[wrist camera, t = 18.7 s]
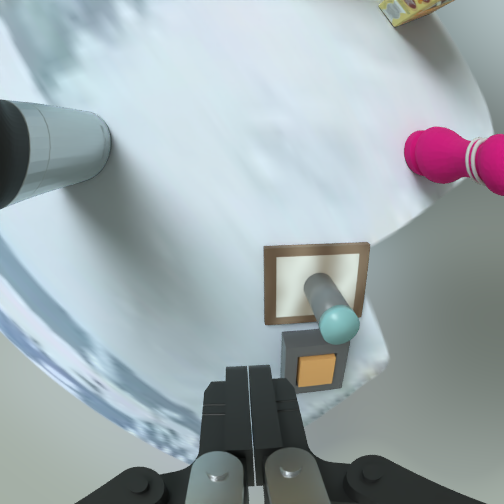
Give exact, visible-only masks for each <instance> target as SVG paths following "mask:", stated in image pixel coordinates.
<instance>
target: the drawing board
mask: <svg viewBox="0 0 504 504" xmlns="http://www.w3.org/2000/svg"><path fill="white" fill-rule="evenodd" d="M369 252H370V244H369V243H368V242H359V243H332V244H305V245H280V246H264V321H265V325H276V324H291V323H304V322H316V321H317V320H316V318H315V315H314V313H313V311H312V308H311V306H310V304H309V302H308V299H307V297H306V295H305V293H304V284H305V281H306V280H307V279H308V278H309V277H310V276H311V275H313V274H315V273H325V274H327V275H329V276H330V277H331V279H332V280H333V282H334V283H335V285H336V286H337V288H338V289H339V291H340V292H341V294H342V296H343V297H344V299H345V300H346V302H347V303H348V305H349V306H350V308H352V309H353V311H354V312H355V314H356V315H357V317H361V315H362V308H363V301H364V294H365V286H366V279H367V270H368V261H369Z"/></svg>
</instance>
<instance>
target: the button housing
mask: <svg viewBox="0 0 504 504" xmlns="http://www.w3.org/2000/svg"><path fill="white" fill-rule="evenodd" d="M349 345H350V341H348V342H346V343H343V344H339V345H334V344H330V343H328V342H326V341H325V340H324V338H323V336H322V334H321V331H320V329H314V330H302V331H289V332H282V348H281V377H280V378H286V379H287V380H288V381H289V382H290V383H291V384H292V385H293V387H294V388H295V393H296V394H297V393H306V392H315V391H323V390H331V389H338V388H341V387H342V382H343V377H344V372H345V367H346V362H347V356H348V350H349ZM333 353H334V354H335V357H336V361H335V367H334V373H333V379H332V383H331V384H323V385H315V386H306V387H298V383H297V379H296V375H297V362H298V357H304V356H315V355H324V354H333Z"/></svg>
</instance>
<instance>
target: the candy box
mask: <svg viewBox="0 0 504 504" xmlns="http://www.w3.org/2000/svg"><path fill="white" fill-rule="evenodd" d="M452 1H454V0H384V1H383V2H382V3H381V4H380V5H378V6H379V7H380V9H381V10H382V11H383V13H384V14H385V15H386V17H387V18H388V19H389V20H390V22H391V23H392V25H393V26H394V27H397V26H400V25H402V24H405V23H407V22H410V21H412V20H415V19H417V18H420V17H422V16H425V15H428V14H430V13H432V12H434V11H436V10H437V9H439V8H441V7H443V6H445V5H447V4H449V3H450V2H452Z"/></svg>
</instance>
